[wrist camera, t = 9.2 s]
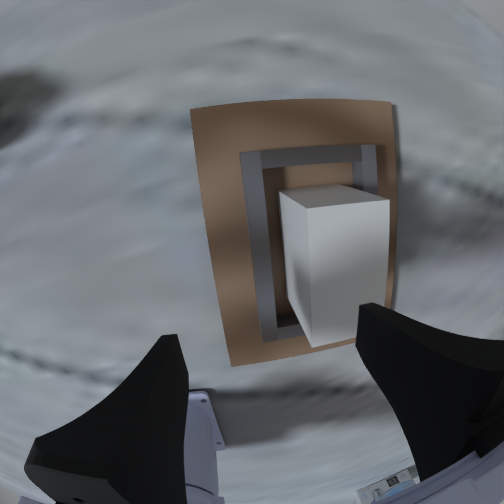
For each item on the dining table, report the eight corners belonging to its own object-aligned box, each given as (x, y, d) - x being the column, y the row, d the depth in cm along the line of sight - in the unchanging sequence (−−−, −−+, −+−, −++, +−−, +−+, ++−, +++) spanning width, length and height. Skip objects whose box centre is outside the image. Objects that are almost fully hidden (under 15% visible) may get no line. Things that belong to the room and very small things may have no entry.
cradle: (381, 327, 23) (395, 343, 21) (230, 358, 22) (232, 379, 20) (383, 103, 17) (403, 99, 15) (191, 111, 16) (187, 105, 14)
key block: (338, 183, 18) (389, 199, 12) (341, 284, 20) (381, 330, 14) (277, 190, 17) (306, 208, 12) (286, 294, 20) (311, 347, 14)
